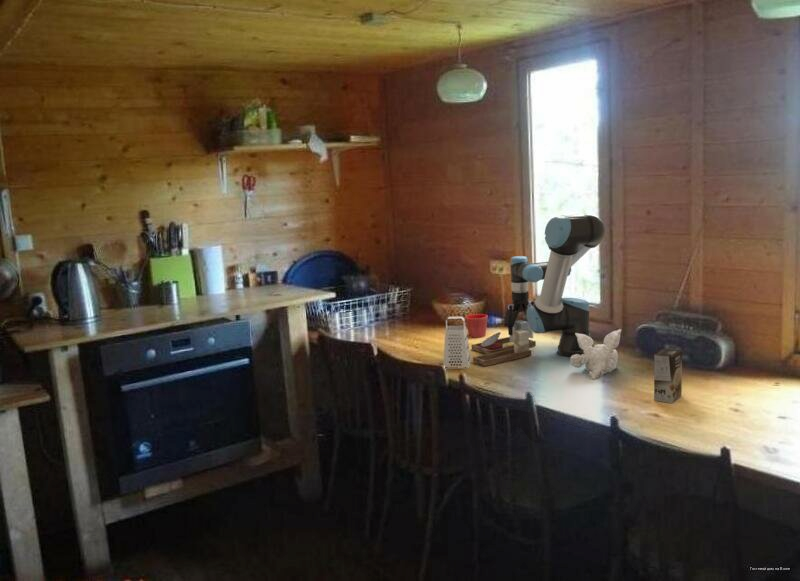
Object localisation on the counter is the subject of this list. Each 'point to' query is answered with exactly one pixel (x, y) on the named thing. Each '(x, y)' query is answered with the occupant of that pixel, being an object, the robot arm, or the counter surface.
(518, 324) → the lane
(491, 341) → the canned food
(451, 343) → the grater
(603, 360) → the white sculpted figure
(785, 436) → the counter surface
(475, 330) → the flower pot
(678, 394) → the coffee box
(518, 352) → the lane
